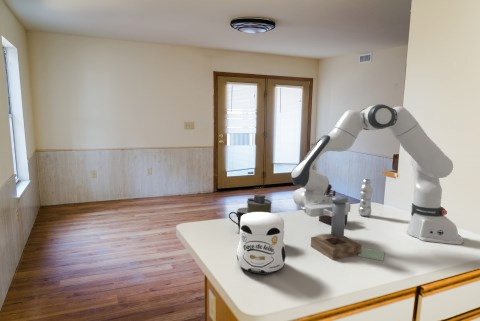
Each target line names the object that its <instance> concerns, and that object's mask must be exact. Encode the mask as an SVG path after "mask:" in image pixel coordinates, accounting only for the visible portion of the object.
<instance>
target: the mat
mask: <svg viewBox="0 0 480 321" xmlns="http://www.w3.org/2000/svg"><path fill="white" fill-rule="evenodd" d="M384 256H385V251H383V250H378V249H373V248H368V247H362V248H361V254H358V255H357V257H361V258H367V259H369V260H370V259H371V260H374V261H375V260H376V261H382V262H383V261H384Z"/></svg>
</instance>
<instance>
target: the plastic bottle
mask: <svg viewBox="0 0 480 321" xmlns="http://www.w3.org/2000/svg"><path fill="white" fill-rule="evenodd" d="M362 180H363V181H362V185H361V186H360V188H359V196H360V197H359V199H360V201H359V206H358V215H360V216H363V217H369V216H371V215H372V202H371V201H372V195H373V190H374V189H373V186H372V185H371V184H372V183H371V181H372V180H371V179H369V178H365V179H362Z"/></svg>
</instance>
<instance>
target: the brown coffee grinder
mask: <svg viewBox="0 0 480 321" xmlns="http://www.w3.org/2000/svg"><path fill="white" fill-rule="evenodd" d="M332 188H333V187H332V184H330V183H329V187H328V190H327V192H326V194H325V196H337V194H336V190H333V191H331V190H332ZM332 192H333V193H332ZM348 215H349V213H348V214H347V215H345V225H347V224H348V217H349V216H348ZM318 222H320V223H322V224H325V225H328V226H331V225H332V217H331V216H327V215H324V216H318Z"/></svg>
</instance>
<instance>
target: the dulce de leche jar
mask: <svg viewBox="0 0 480 321" xmlns="http://www.w3.org/2000/svg"><path fill="white" fill-rule="evenodd" d="M284 229H285V219H284V218H283V216H281V215H279V214H276V213H272V212H271V213H268V212H252V213H247V214H244V215H242V216H241V220H240V232H239V241H238V246H237V250H236V259H237V263H238V265H239V266H240V268H242V269H243V270H244V271H247V272H251V273H253V274H271V273H276V272H278V271H279V270H280V269H282V268H283V267H284V264H285V261H286V249H285V244H284V237H285V236H284V235H285V230H284Z"/></svg>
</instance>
